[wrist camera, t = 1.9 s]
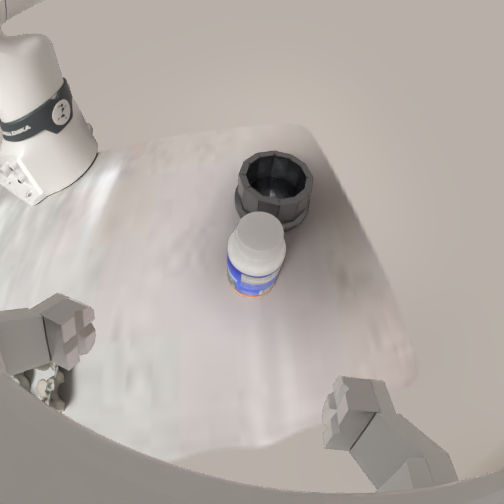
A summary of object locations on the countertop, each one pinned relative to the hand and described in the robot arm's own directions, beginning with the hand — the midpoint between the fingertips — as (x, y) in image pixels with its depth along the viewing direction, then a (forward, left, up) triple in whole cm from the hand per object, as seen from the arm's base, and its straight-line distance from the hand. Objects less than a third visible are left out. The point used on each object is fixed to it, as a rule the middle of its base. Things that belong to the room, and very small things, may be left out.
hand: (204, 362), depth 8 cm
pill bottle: (0, +12, -21) cm, 25 cm away
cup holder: (0, +23, -21) cm, 31 cm away
